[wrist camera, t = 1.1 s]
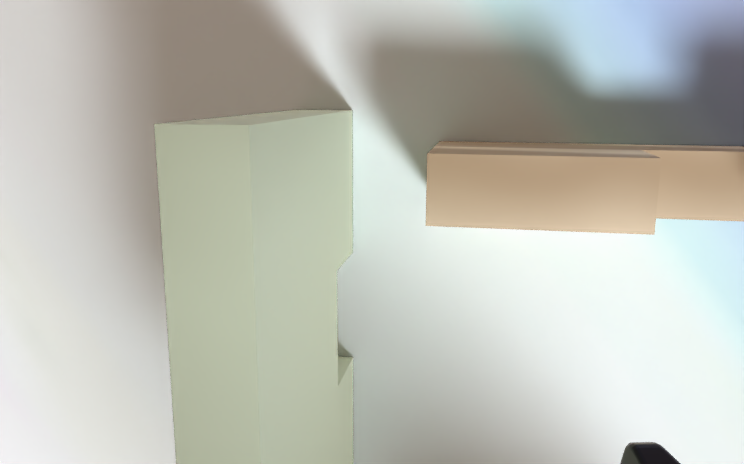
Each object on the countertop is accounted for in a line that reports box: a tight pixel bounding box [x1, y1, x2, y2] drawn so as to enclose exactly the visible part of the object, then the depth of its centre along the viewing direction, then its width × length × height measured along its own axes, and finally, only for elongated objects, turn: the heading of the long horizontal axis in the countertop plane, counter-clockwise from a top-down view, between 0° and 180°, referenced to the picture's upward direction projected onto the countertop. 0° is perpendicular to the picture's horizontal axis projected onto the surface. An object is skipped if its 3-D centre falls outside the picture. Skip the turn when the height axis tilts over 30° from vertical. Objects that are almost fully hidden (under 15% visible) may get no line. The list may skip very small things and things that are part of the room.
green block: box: [154, 110, 353, 464], centre depth 19 cm, size 14×2×10 cm, turn 0°
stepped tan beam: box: [426, 141, 744, 235], centre depth 19 cm, size 2×16×4 cm, turn 90°
